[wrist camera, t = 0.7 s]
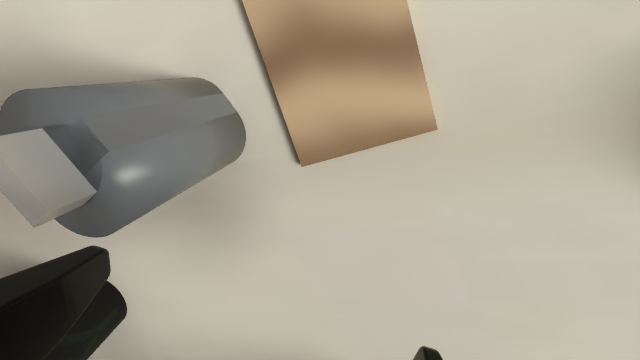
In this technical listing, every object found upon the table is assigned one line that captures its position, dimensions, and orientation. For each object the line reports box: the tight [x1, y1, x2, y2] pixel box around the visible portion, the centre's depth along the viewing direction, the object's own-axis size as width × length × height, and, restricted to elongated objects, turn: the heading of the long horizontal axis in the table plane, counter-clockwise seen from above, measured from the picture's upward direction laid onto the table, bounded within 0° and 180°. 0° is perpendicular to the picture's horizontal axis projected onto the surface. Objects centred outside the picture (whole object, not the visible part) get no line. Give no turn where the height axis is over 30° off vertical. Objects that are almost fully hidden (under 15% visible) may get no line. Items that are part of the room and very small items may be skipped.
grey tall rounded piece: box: [0, 78, 246, 237], centre depth 18 cm, size 7×5×13 cm
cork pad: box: [242, 0, 437, 167], centre depth 20 cm, size 12×9×1 cm
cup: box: [43, 281, 127, 360], centre depth 27 cm, size 8×8×12 cm
